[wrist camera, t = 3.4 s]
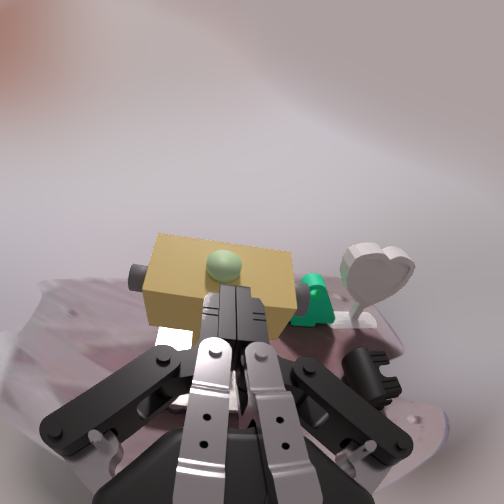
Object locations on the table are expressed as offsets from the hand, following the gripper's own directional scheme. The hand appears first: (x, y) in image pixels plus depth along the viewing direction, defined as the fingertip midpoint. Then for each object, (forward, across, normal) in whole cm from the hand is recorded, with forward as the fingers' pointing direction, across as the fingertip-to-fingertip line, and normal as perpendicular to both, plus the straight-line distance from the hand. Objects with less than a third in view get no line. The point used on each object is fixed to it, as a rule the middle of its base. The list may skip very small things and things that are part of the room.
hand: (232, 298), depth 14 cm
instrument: (+13, 0, -23) cm, 27 cm away
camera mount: (+29, +18, -28) cm, 44 cm away
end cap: (+10, +26, -28) cm, 40 cm away
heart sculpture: (+28, +30, -28) cm, 50 cm away
